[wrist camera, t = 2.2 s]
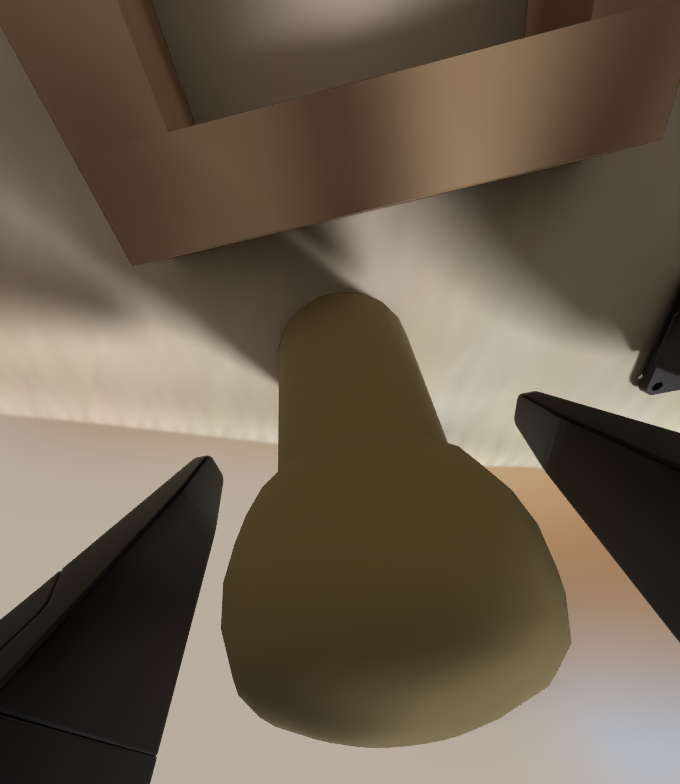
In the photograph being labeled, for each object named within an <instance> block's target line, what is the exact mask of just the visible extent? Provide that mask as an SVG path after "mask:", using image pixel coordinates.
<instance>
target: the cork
mask: <svg viewBox="0 0 680 784" xmlns="http://www.w3.org/2000/svg"><path fill="white" fill-rule="evenodd" d="M278 450H279V451H278V456H279V457H278V472H277V473H276V474H275V475H274V476H273V477H272V478H271V479H270V480H269V481H268V482H267V483H266V484H265V485H264V486H263V487H262V489H261V490H260V492H259V494H258V496H257V497H256V499H255V501H254V503H253V504H252V506H251V508H250V510H249V511H248V513H247V515H246V517H245V519H244V522H243V525H242V527H241V529H240V532H239V535H238V537H237V540H236V542H235V545H234V548H233V552H232V555H231V559H230V562H229V565H228V569H227V572H226V576H225V579H224V582H223V601H222V620H221V630H222V635H223V639H224V643H225V647H226V652H227V656H228V660H229V664H230V668H231V673H232V677H233V680H234V683H235V686H236V689H237V692H238V695H239V696H240V697H241V698H242V699H243V700H244V701H245V702H246V703H247V705H248V706H249V707H250V708H251V709H252V710H253V711H254V712H255V713H256V714H257V715H258V716H259V717H260V718H262V719H264V720H265V721H267V722H269V723H270V724H272V725H274V726H275V727H279V728H282V729H285V730H288V731H291V732H294V733H297V734H301V735H304V736H307V737H310V738H313V739H317V740H321V741H325V742H330V743H335V744H342V745H350V746H356V747H368V748H385V747H386V748H389V747H402V746H411V745H418V744H426V743H430V742H436V741H441V740H445V739H449V738H452V737H456V736H459V735H462V734H464V733H467V732H469V731H472V730H474V729H477V728H479V727H481V726H483V725H486V724H488V723H491V722H493V721H495V720H498V719H499V718H501V717H502V716H504V715H505V714H507V713H508V712H510V711H511V710H513V709H515V708H516V707H518V706H519V705H521V704H522V703H523V702H525V701H527V700H528V699H530V698H531V697H533V696H534V695H536V694H537V693H539V692H540V691H542V690H543V689H545V688H547V687H548V686H549V685H550V683H551V681H552V680H553V678H554V676H555V675H556V673H557V671H558V669H559V667H560V665H561V663H562V661H563V659H564V657H565V655H566V653H567V651H568V649H569V647H570V644H571V636H570V627H569V619H568V610H567V602H566V593H565V591H564V587H563V584H562V582H561V579H560V576H559V573H558V570H557V567H556V565H555V563H554V560H553V558H552V556H551V554H550V551H549V549H548V547H547V544H546V542H545V540H544V538H543V535H542V533H541V531H540V528H539V526H538V524H537V523H536V521H535V520H534V519H533V517H532V516H531V515H530V514H529V512H528V511H527V509H526V508H525V507H524V505H523V504H522V503H521V502H520V500H519V499H518V498H517V496H516V495H515V494H514V492H513V491H512V490H511V489H510V488H508V487H507V486H506V485H505V484H504V483H503V482H501V481H500V480H499V479H498V478H497V477H496V476H494V475H493V474H492V473H491V472H490V471H488V470H487V469H486V468H485V467H484V466H482V465H481V464H480V463H479V462H477V461H476V460H475V459H474V458H472V457H471V456H470V455H469V454H467V453H466V452H465V451H464V450H462V449H461V448H460V447H458V446H455V445H452V444H449V443H448V442H447V440H446V437H445V434H444V432H443V429H442V426H441V424H440V421H439V419H438V416H437V413H436V411H435V408H434V406H433V403H432V400H431V398H430V395H429V392H428V390H427V387H426V385H425V382H424V379H423V377H422V374H421V371H420V369H419V366H418V364H417V361H416V358H415V356H414V353H413V350H412V348H411V345H410V343H409V340H408V337H407V335H406V333H405V331H404V329H403V327H402V325H401V322H400V320H399V318H398V317H397V316H396V315H395V314H394V313H393V312H392V311H391V310H390V309H389V308H388V307H387V306H386V305H385V304H384V303H382V302H380V301H378V300H375V299H373V298H371V297H369V296H366V295H364V294H358V293H346V292H338V293H334V294H330V295H326V296H322V297H318V298H316V299H315V300H313V301H312V302H310V303H309V304H307V305H306V306H304V307H302V308H301V309H299V310H298V312H297V313H296V314H295V315H294V317H293V318H292V319H291V321H290V322H289V323H288V324H287V326H286V327H285V330H284V333H283V336H282V339H281V342H280V345H279V444H278Z"/></svg>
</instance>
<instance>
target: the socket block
mask: <svg viewBox="0 0 680 784" xmlns="http://www.w3.org/2000/svg"><path fill="white" fill-rule="evenodd" d="M0 26H1V27H2V29H3V31H4V33H5V35H6V36H7V38H8V40H9V42H10V44H11V46H12V47H13V49H14V51H15V53H16V55H17V57H18V58H19V60H20V62H21V64H22V66H23V67H24V69H25V71H26V73H27V75H28V77H29V78H30V80H31V82H32V84H33V86H34V88H35V89H36V91H37V93H38V95H39V97H40V98H41V100H42V102H43V104H44V106H45V108H46V109H47V111H48V113H49V115H50V117H51V119H52V120H53V122H54V124H55V126H56V128H57V129H58V131H59V133H60V135H61V137H62V139H63V140H64V142H65V144H66V146H67V148H68V150H69V151H70V153H71V155H72V157H73V159H74V160H75V162H76V164H77V166H78V168H79V170H80V171H81V173H82V175H83V177H84V179H85V181H86V182H87V184H88V186H89V188H90V190H91V191H92V193H93V195H94V197H95V199H96V201H97V202H98V204H99V206H100V208H101V210H102V212H103V213H104V215H105V217H106V219H107V221H108V222H109V224H110V226H111V228H112V230H113V232H114V233H115V235H116V237H117V239H118V241H119V242H120V244H121V246H122V248H123V250H124V252H125V253H126V255H127V257H128V259H129V261H130V263H131V264H132V266H134V265H139V264H144V263H149V262H155V261H160V260H165V259H170V258H175V257H179V256H183V255H188V254H192V253H196V252H200V251H204V250H208V249H213V248H217V247H221V246H225V245H229V244H234V243H238V242H242V241H246V240H250V239H255V238H259V237H263V236H267V235H271V234H276V233H280V232H284V231H288V230H292V229H296V228H301V227H305V226H309V225H313V224H317V223H322V222H326V221H330V220H334V219H338V218H343V217H347V216H351V215H355V214H359V213H363V212H368V211H372V210H376V209H380V208H384V207H389V206H393V205H397V204H401V203H405V202H410V201H414V200H418V199H422V198H426V197H430V196H435V195H439V194H443V193H447V192H451V191H456V190H460V189H464V188H468V187H472V186H477V185H481V184H485V183H489V182H493V181H497V180H502V179H506V178H510V177H514V176H518V175H523V174H527V173H531V172H535V171H539V170H544V169H548V168H552V167H556V166H560V165H564V164H569V163H573V162H577V161H581V160H585V159H589V158H593V157H597V156H600V155H604V154H608V153H612V152H615V151H619V150H623V149H627V148H630V147H634V146H638V145H642V144H645V143H649V142H653V141H657V140H660V139H662V137H663V134H664V130H665V127H666V124H667V121H668V117H669V114H670V111H671V108H672V105H673V101H674V98H675V95H676V92H677V88H678V85H679V82H680V0H528V7H527V17H526V27H525V37H524V38H522V39H519V40H515V41H511V42H507V43H504V44H500V45H496V46H492V47H488V48H485V49H481V50H477V51H473V52H470V53H466V54H462V55H458V56H454V57H451V58H447V59H443V60H439V61H435V62H432V63H428V64H424V65H420V66H417V67H413V68H409V69H405V70H401V71H398V72H394V73H390V74H386V75H382V76H379V77H375V78H371V79H367V80H364V81H360V82H356V83H352V84H348V85H345V86H341V87H337V88H333V89H330V90H326V91H322V92H318V93H314V94H311V95H307V96H303V97H299V98H295V99H292V100H288V101H284V102H280V103H277V104H273V105H269V106H265V107H261V108H258V109H254V110H250V111H246V112H242V113H239V114H235V115H231V116H227V117H224V118H220V119H216V120H212V121H208V122H205V123H201V124H197V125H195V124H194V121H193V118H192V116H191V113H190V110H189V107H188V104H187V101H186V99H185V96H184V93H183V90H182V87H181V84H180V81H179V79H178V76H177V73H176V70H175V67H174V64H173V62H172V59H171V56H170V53H169V50H168V47H167V45H166V42H165V39H164V36H163V33H162V30H161V28H160V25H159V22H158V19H157V16H156V13H155V11H154V8H153V5H152V2H151V0H0Z"/></svg>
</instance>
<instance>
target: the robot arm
mask: <svg viewBox="0 0 680 784" xmlns="http://www.w3.org/2000/svg"><path fill="white" fill-rule="evenodd" d="M639 389H640V390H641V391H643V392H645V393H647V394H649V395H654V394H660V393H665V392H670V391H675V390H680V291H679V293H678V295H677V298H676V300H675V302H674V305H673V307H672V309H671V312H670V314H669V316H668V319H667V321H666V323H665V326H664V328H663V330H662V333H661V335H660V337H659V340H658V342H657V344H656V347H655V349H654V351H653V354H652V356H651V358H650V361H649V363H648V365H647V368H646V370H645V372H644V375H643V377H642V379H641V382H640V384H639ZM514 419H515V424H516V426H517V428H518V429H519V431H520V432H521V434H522V435H523V437H524V439H525V440H526V442H527V443H528V445H529V447H530V448H531V450H532V451H533V453H534V455H535V456H536V458H537V459H538V461H539V463H540V464H541V466H542V467H543V469H544V470H545V471H546V473H547V474H548V476H549V477H550V478H551V480H552V481H553V482H554V483H555V485H556V486H557V487H558V488H559V490H560V491H561V492H562V494H563V495H564V496H565V497H566V498H567V500H568V501H569V502H570V504H571V505H572V506H573V508H574V509H575V510H576V511H577V513H578V514H579V515H580V516H581V518H582V519H583V520H584V521H585V523H586V524H587V525H588V527H589V528H590V529H591V530H592V532H593V533H594V534H595V535H596V537H597V538H598V539H599V540H600V542H601V543H602V544H603V546H604V547H605V548H606V549H607V551H608V552H609V553H610V554H611V556H612V557H613V558H614V560H615V561H616V562H617V563H618V564H619V566H620V567H621V568H622V570H623V571H624V572H625V574H626V575H627V576H628V577H629V579H630V580H631V581H632V582H633V584H634V585H635V586H636V588H637V589H638V590H639V591H640V593H641V594H642V595H643V596H644V598H645V599H646V600H647V602H648V603H649V604H650V605H651V607H652V608H653V609H654V611H655V612H656V613H657V614H658V615H659V617H660V618H661V619H662V620H663V622H664V623H665V625H666V626H667V627H668V628H669V630H670V631H671V632H672V633H673V635H674V636H675V637H676V639H677V640H678V641H679V642H680V433H678V432H675V431H671V430H668V429H664V428H661V427H657V426H654V425H651V424H647V423H644V422H640V421H637V420H633V419H630V418H627V417H623V416H620V415H616V414H613V413H609V412H606V411H603V410H599V409H596V408H592V407H589V406H585V405H582V404H579V403H575V402H572V401H568V400H565V399H561V398H558V397H555V396H551V395H548V394H544V393H541V392H537V391H532V392H527V393H522V394H520V395H519V396H518V399H517V404H516V410H515V416H514ZM222 486H223V476H222V473H221V471H220V470H219V468H218V466H217V465H216V463H215V462H214V460H213V458H212V457H210V456H202V457H197V458H195V459H193V460H192V461H191V462H189V463H188V464H187V465H186V466H185V467H183V468H182V469H181V470H180V471H179V472H177V473H176V474H175V475H174V476H173V477H172V478H170V479H169V480H168V481H167V482H166V483H164V484H163V485H162V486H161V487H160V488H158V489H157V490H156V491H155V492H154V493H153V494H151V495H150V496H149V497H148V498H146V499H145V500H144V501H143V502H142V503H140V504H139V505H138V506H137V507H136V508H134V509H133V510H132V511H131V512H130V513H128V514H127V515H126V516H125V517H124V518H122V519H121V520H120V521H119V522H118V523H116V524H115V525H114V526H113V527H112V528H110V529H109V530H108V531H107V532H106V533H105V534H103V535H102V536H101V537H100V538H99V539H97V540H96V541H95V542H94V543H93V544H91V545H90V546H89V547H88V548H87V549H85V550H84V551H83V552H82V553H81V554H79V555H78V556H77V557H76V558H75V559H73V560H72V561H71V562H70V563H69V564H67V565H66V566H65V567H64V568H63V569H62V571H59V572H58V573H56V574H55V575H54V576H53V577H52V578H50V579H49V580H48V581H47V582H46V583H45V584H43V585H42V586H41V587H40V588H39V589H37V590H36V591H35V592H34V593H32V594H31V595H30V596H29V597H28V598H26V599H25V600H24V601H23V602H21V603H20V604H19V605H18V606H17V607H15V608H14V609H13V610H12V611H11V612H9V613H8V614H7V615H6V616H4V617H3V618H2V619H1V620H0V784H150V782H151V778H152V774H153V770H154V766H155V762H156V755H157V753H158V750H159V746H160V742H161V738H162V735H163V731H164V727H165V723H166V719H167V715H168V711H169V708H170V704H171V700H172V696H173V692H174V688H175V685H176V681H177V677H178V673H179V669H180V666H181V662H182V658H183V654H184V650H185V646H186V643H187V639H188V635H189V631H190V627H191V623H192V620H193V616H194V612H195V608H196V604H197V600H198V597H199V593H200V589H201V585H202V581H203V577H204V573H205V570H206V566H207V562H208V558H209V554H210V551H211V547H212V543H213V539H214V534H215V530H216V525H217V519H218V512H219V506H220V499H221V493H222Z"/></svg>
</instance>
